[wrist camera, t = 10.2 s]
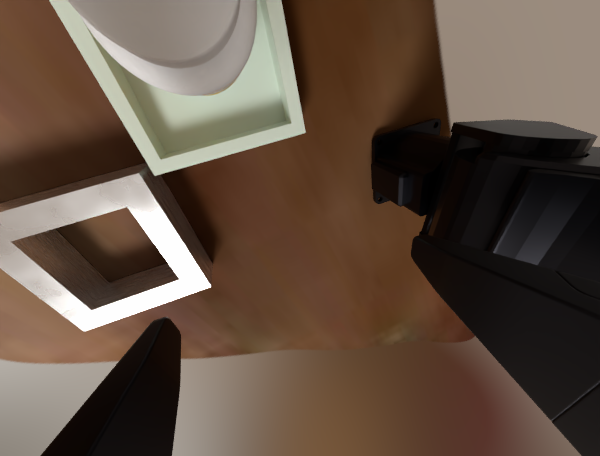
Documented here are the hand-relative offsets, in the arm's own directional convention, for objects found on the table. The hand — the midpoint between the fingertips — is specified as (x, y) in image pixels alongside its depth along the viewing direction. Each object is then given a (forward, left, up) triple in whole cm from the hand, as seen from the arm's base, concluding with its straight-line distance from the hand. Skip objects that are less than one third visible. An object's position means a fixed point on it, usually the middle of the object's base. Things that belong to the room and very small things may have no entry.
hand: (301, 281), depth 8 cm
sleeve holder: (+12, +2, -12) cm, 17 cm away
